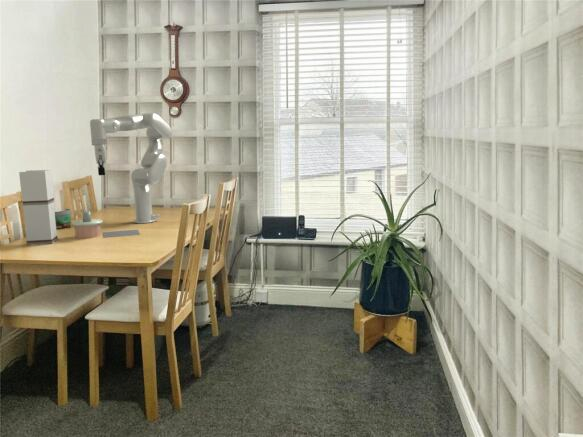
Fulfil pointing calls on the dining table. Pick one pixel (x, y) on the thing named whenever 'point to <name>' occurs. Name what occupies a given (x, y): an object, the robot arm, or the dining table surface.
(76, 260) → the dining table surface
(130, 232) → the mat
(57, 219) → the food container
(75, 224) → the lid
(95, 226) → the bowl
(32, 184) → the grey two-tier tower
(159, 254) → the dining table surface
